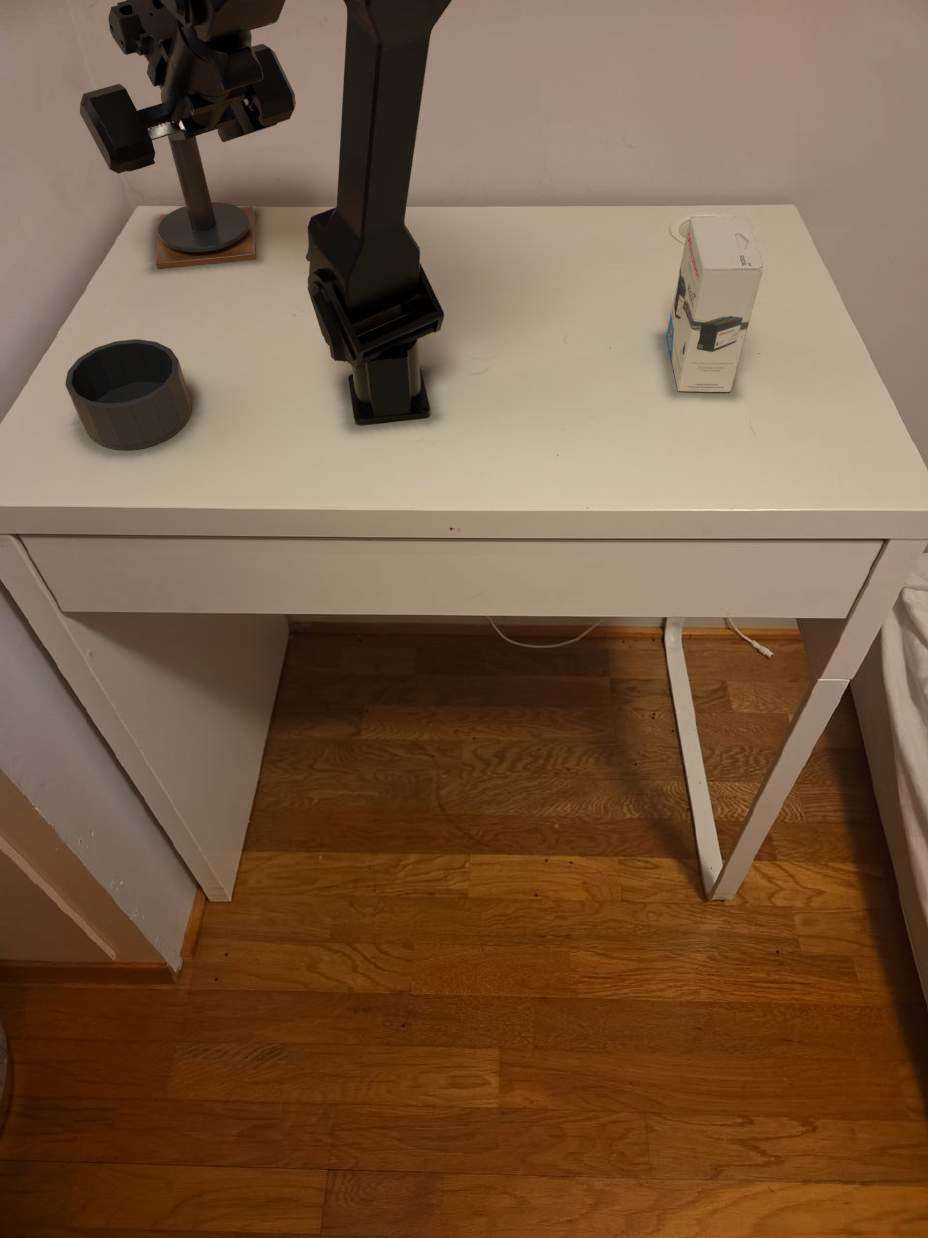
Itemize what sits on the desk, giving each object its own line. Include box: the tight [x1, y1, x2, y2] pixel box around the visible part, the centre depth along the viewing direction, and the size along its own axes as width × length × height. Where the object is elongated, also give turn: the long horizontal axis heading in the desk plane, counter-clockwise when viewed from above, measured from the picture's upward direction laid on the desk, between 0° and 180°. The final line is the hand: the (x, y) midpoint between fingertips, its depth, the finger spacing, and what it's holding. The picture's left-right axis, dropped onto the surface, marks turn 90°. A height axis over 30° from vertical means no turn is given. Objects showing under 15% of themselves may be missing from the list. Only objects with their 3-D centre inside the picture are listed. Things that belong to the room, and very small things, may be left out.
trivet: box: [155, 206, 257, 270], centre depth 95 cm, size 10×10×1 cm
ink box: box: [666, 215, 764, 393], centre depth 76 cm, size 8×5×12 cm, turn 178°
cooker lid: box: [157, 131, 250, 252], centre depth 90 cm, size 9×9×10 cm
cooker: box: [64, 338, 193, 451], centre depth 75 cm, size 9×9×4 cm
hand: (180, 150), depth 89 cm, fingers open, 9 cm apart
